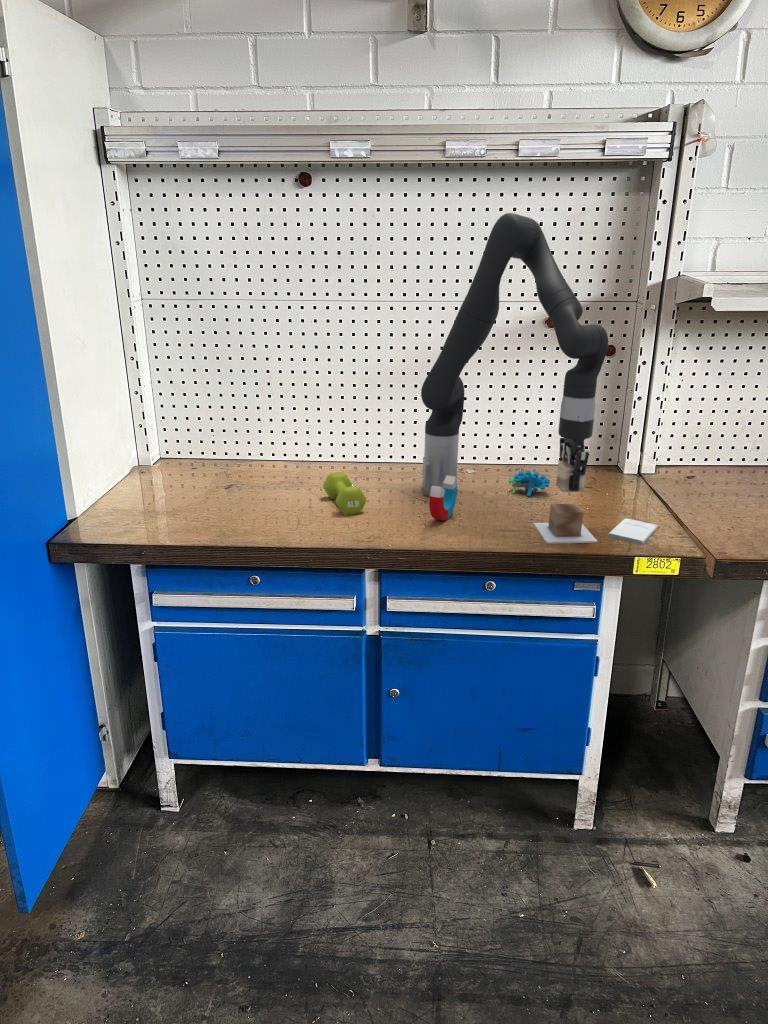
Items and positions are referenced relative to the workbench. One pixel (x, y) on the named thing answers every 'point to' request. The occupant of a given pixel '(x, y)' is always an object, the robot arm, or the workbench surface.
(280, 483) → the workbench surface
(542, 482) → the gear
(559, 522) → the walnut block
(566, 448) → the robot arm
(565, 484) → the maple block
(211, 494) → the workbench surface
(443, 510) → the magnet
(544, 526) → the white square plate
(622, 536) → the external hard drive
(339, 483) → the dumbbell
